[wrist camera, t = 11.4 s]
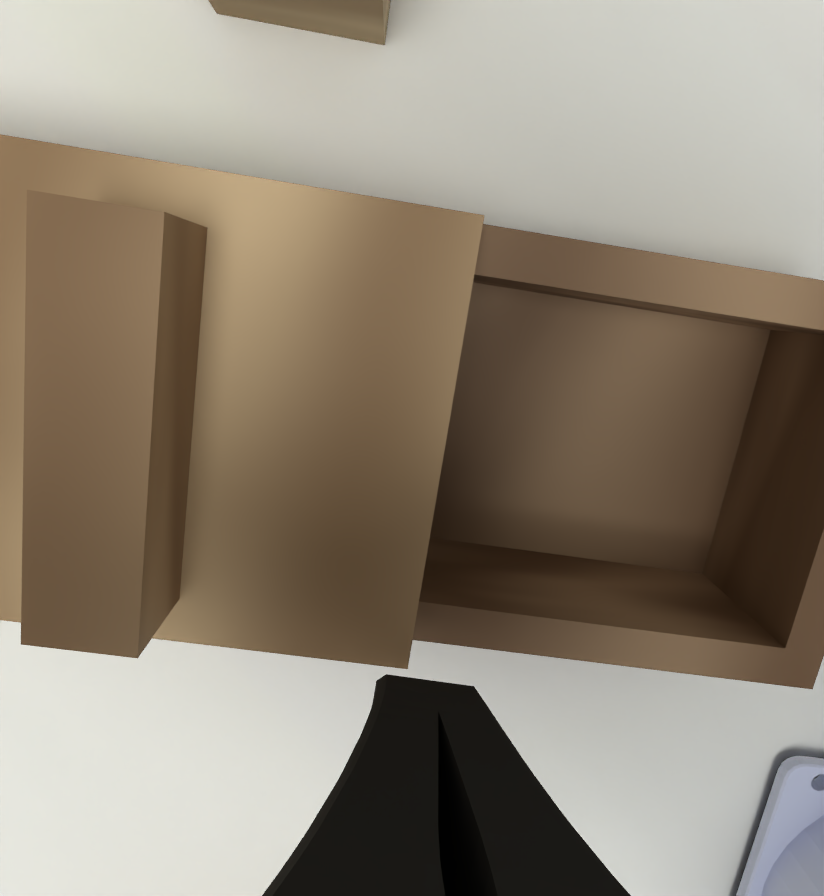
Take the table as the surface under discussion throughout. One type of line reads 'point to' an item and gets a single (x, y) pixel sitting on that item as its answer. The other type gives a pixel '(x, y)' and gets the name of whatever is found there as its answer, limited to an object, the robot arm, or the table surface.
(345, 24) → the tan wooden block
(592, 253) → the wooden box
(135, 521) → the lid
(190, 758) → the table surface
